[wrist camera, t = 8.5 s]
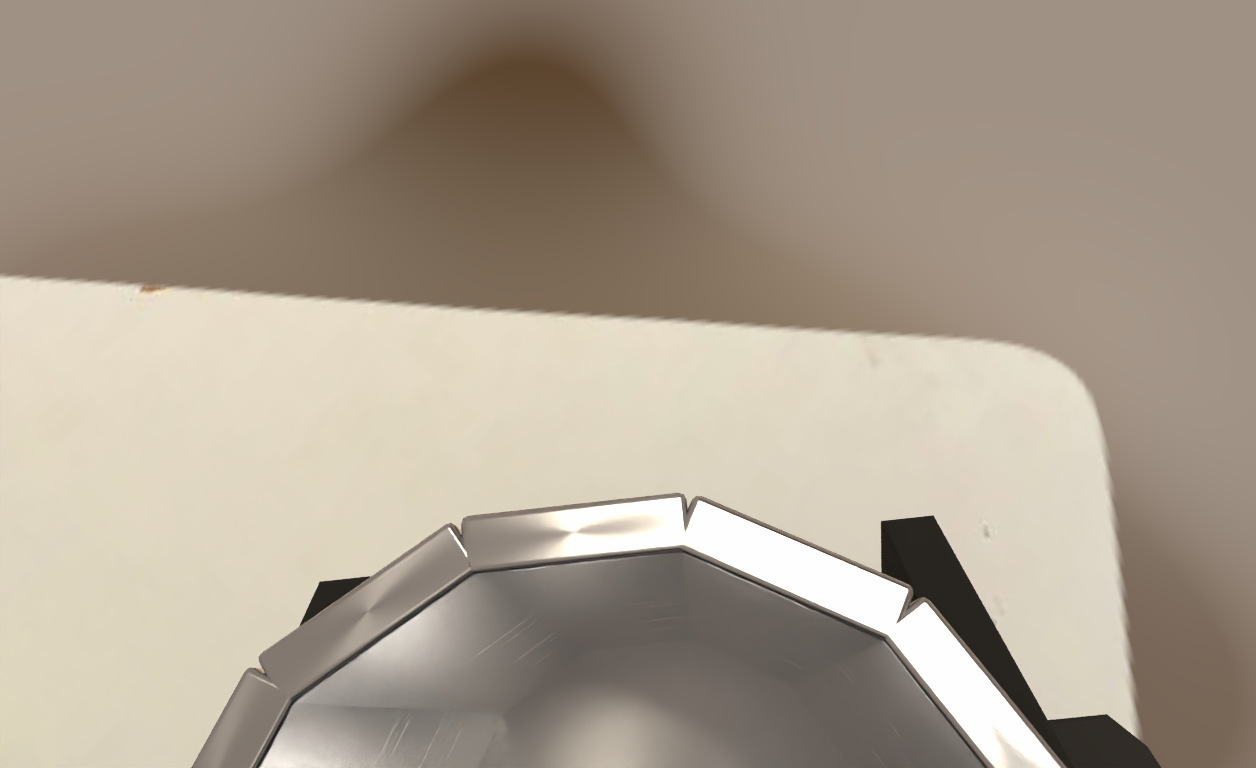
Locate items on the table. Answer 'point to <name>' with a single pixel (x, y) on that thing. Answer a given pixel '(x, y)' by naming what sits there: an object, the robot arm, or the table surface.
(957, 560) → the robot arm
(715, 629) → the steel cup
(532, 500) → the table surface
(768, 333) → the table surface
